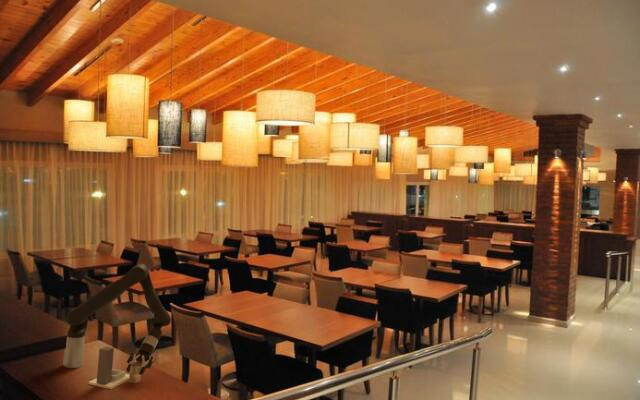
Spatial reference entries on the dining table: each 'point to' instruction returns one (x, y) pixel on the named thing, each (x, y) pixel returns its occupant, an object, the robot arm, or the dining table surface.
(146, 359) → the robot arm
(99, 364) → the grey pillar stand
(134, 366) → the rail end
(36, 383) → the dining table surface
